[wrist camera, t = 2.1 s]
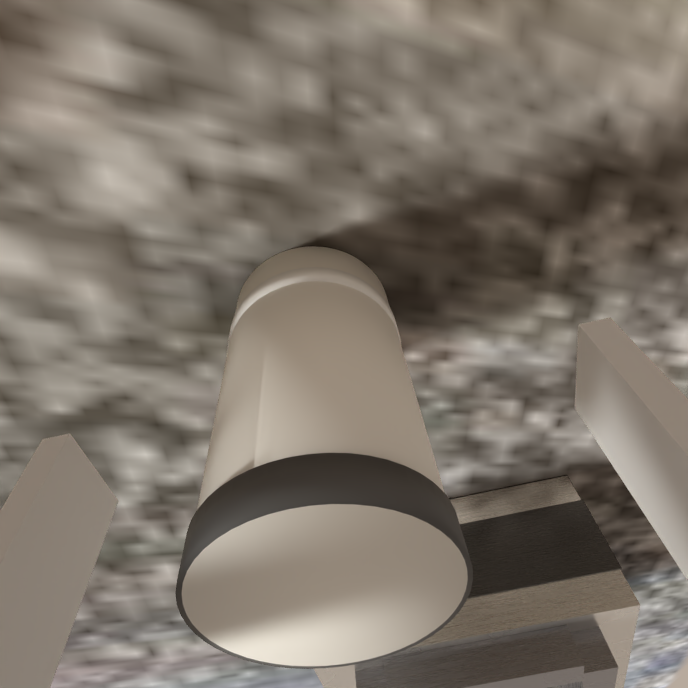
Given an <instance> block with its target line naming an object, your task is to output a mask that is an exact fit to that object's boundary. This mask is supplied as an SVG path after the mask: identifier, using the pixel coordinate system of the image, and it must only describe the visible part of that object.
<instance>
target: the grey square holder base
mask: <svg viewBox="0 0 688 688" xmlns="http://www.w3.org/2000/svg"><path fill="white" fill-rule="evenodd" d="M450 501H451V503H452V505H453V507H454V509H455V511H456V514H457V517H458V521H459V524H460V527H461V530H462V534H463V537H464V540H465V543H466V547H467V550H468V553H469V556H470V560H471V564H472V568H473V582H472V587H471V591H470V594H469V596H468V598H467V601H466V602H465V604H464V605H463V607H462V608H461V610H460V611H459V612H458V614H457V615H456V616H455V617H454V618H453V619H452V620H451V621H450V622H449V623H448V624H447V625H445V626H444V627H443V628H442V629H441V630H439V631H438V632H436V633H435V634H434V635H432V636H431V637H429V638H427V639H426V640H424V641H422V642H420V643H419V644H417V645H415V646H412V647H410V648H408V649H406V650H404V651H401V652H398V653H396V654H393V655H390V656H387V657H384V658H380V659H377V660H374V661H369V662H365V663H360V664H355V665H349V666H342V667H332V668H315V669H314V670H315V672H316V674H317V676H318V677H319V679H320V681H321V683H322V685H323V687H324V688H624V683H625V678H626V673H627V668H628V663H629V658H630V653H631V648H632V643H633V638H634V633H635V628H636V623H637V618H638V613H639V608H640V604H639V602H638V600H637V598H636V597H635V595H634V593H633V591H632V590H631V588H630V586H629V584H628V582H627V581H626V579H625V577H624V575H623V574H622V572H621V566H620V565H619V563H618V561H617V559H616V558H615V556H614V554H613V552H612V551H611V549H610V547H609V545H608V543H607V542H606V540H605V538H604V536H603V535H602V533H601V531H600V529H599V528H598V526H597V524H596V522H595V520H594V519H593V517H592V515H591V513H590V512H589V510H588V508H587V506H586V505H585V503H584V501H583V500H581V499H580V497H579V495H578V494H577V492H576V490H575V488H574V486H573V485H572V483H571V481H570V479H569V477H568V476H562V477H558V478H553V479H548V480H543V481H538V482H533V483H528V484H523V485H518V486H514V487H509V488H504V489H499V490H494V491H489V492H484V493H479V494H474V495H469V496H465V497H460V498H455V499H450Z"/></svg>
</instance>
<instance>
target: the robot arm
mask: <svg viewBox="0 0 688 688" xmlns="http://www.w3.org/2000/svg"><path fill="white" fill-rule="evenodd" d="M575 409H576V411H577V412H578V414H579V415H580V417H581V418H582V420H583V421H584V423H585V424H586V426H587V428H588V429H589V431H590V432H591V434H592V435H593V437H594V438H595V440H596V441H597V443H598V444H599V446H600V447H601V449H602V450H603V452H604V453H605V455H606V457H607V458H608V460H609V461H610V463H611V464H612V466H613V467H614V469H615V470H616V472H617V473H618V475H619V476H620V478H621V479H622V481H623V483H624V484H625V486H626V487H627V489H628V490H629V492H630V493H631V495H632V496H633V498H634V499H635V501H636V502H637V504H638V505H639V507H640V508H641V510H642V512H643V513H644V515H645V516H646V518H647V519H648V521H649V522H650V524H651V525H652V527H653V528H654V530H655V531H656V533H657V534H658V536H659V537H660V539H661V541H662V542H663V544H664V545H665V547H666V548H667V550H668V551H669V553H670V554H671V556H672V557H673V559H674V560H675V562H676V563H677V565H678V566H679V568H680V570H681V571H682V573H683V574H684V576H685V577H686V579H687V580H688V399H687V398H686V397H685V396H684V395H683V394H682V393H681V391H680V390H679V389H678V388H677V387H676V386H675V385H674V384H673V383H672V382H671V381H670V380H669V379H668V378H667V377H666V376H665V375H664V374H663V373H662V371H661V370H660V369H659V368H658V367H657V366H656V365H655V364H654V363H653V362H652V361H651V360H650V359H649V358H648V357H647V356H646V355H645V354H644V352H643V351H642V350H641V349H640V348H639V347H638V346H637V345H636V344H635V343H634V342H633V341H632V340H631V339H630V338H629V337H628V336H627V335H626V334H625V332H624V331H623V330H622V329H621V328H620V327H619V326H618V325H617V324H616V323H615V322H614V321H613V320H612V319H611V318H606V319H602V320H597V321H592V322H588V323H583V324H578V346H577V368H576V390H575ZM117 504H118V499H117V498H116V497H115V495H114V494H113V493H112V491H111V490H110V488H109V487H108V486H107V484H106V483H105V481H104V480H103V479H102V477H101V476H100V474H99V473H98V472H97V470H96V469H95V468H94V466H93V465H92V463H91V462H90V461H89V459H88V458H87V456H86V455H85V454H84V452H83V451H82V449H81V448H80V447H79V445H78V444H77V443H76V441H75V440H74V438H73V437H72V436H71V434H65V435H61V436H56V437H51V438H47V439H42V441H41V443H40V444H39V446H38V448H37V449H36V451H35V453H34V455H33V456H32V458H31V460H30V461H29V463H28V465H27V466H26V468H25V470H24V471H23V473H22V475H21V477H20V478H19V480H18V482H17V483H16V485H15V487H14V488H13V490H12V492H11V494H10V495H9V497H8V499H7V500H6V502H5V504H4V505H3V507H2V509H1V511H0V688H50V686H51V683H52V681H53V678H54V675H55V673H56V670H57V667H58V664H59V662H60V659H61V656H62V653H63V651H64V648H65V645H66V643H67V640H68V637H69V634H70V632H71V629H72V626H73V623H74V621H75V618H76V615H77V613H78V610H79V607H80V604H81V602H82V599H83V596H84V593H85V591H86V588H87V585H88V583H89V580H90V577H91V574H92V572H93V569H94V566H95V564H96V561H97V558H98V555H99V553H100V550H101V547H102V544H103V542H104V539H105V536H106V534H107V531H108V528H109V525H110V523H111V520H112V517H113V514H114V512H115V509H116V506H117Z"/></svg>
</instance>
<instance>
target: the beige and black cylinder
mask: <svg viewBox="0 0 688 688" xmlns="http://www.w3.org/2000/svg"><path fill="white" fill-rule="evenodd" d="M472 582H473V568H472V564H471V560H470V556H469V553H468V550H467V547H466V543H465V540H464V537H463V534H462V530H461V527H460V524H459V521H458V517H457V514H456V511H455V509H454V507H453V505H452V503H451V501H450V500H449V498H448V497H447V496H446V494H445V492H444V489H443V485H442V482H441V478H440V475H439V472H438V468H437V465H436V462H435V458H434V455H433V451H432V448H431V445H430V441H429V438H428V435H427V431H426V428H425V424H424V421H423V418H422V414H421V411H420V407H419V404H418V401H417V397H416V394H415V391H414V387H413V384H412V380H411V377H410V374H409V370H408V367H407V364H406V360H405V357H404V353H403V350H402V346H401V338H400V334H399V331H398V327H397V324H396V321H395V317H394V315H393V312H392V310H391V308H390V306H389V303H388V299H387V296H386V293H385V290H384V288H383V286H382V284H381V282H380V280H379V279H378V277H377V276H376V275H375V273H374V272H373V271H372V270H371V269H370V268H369V267H368V266H367V265H366V264H364V263H363V262H362V261H360V260H359V259H357V258H356V257H354V256H352V255H350V254H348V253H346V252H343V251H340V250H337V249H332V248H327V247H317V246H311V247H300V248H294V249H290V250H287V251H284V252H281V253H279V254H277V255H275V256H273V257H271V258H269V259H268V260H266V261H264V262H263V263H262V264H261V265H260V266H258V267H257V268H256V269H255V270H254V271H253V272H252V273H251V274H250V276H249V277H248V279H247V280H246V282H245V283H244V285H243V287H242V289H241V291H240V294H239V298H238V301H237V307H236V312H235V315H234V318H233V321H232V324H231V329H230V334H229V339H228V345H227V358H226V363H225V368H224V373H223V379H222V384H221V389H220V394H219V399H218V404H217V410H216V415H215V420H214V425H213V430H212V435H211V440H210V446H209V451H208V456H207V461H206V466H205V471H204V476H203V482H202V487H201V492H200V497H199V502H198V507H197V511H196V513H195V515H194V516H193V518H192V520H191V522H190V525H189V528H188V531H187V535H186V540H185V545H184V550H183V555H182V560H181V565H180V569H179V574H178V579H177V586H176V601H177V606H178V609H179V611H180V614H181V616H182V618H183V619H184V621H185V622H186V624H187V625H188V626H189V627H190V629H191V630H192V631H193V632H194V633H195V634H196V635H198V636H199V637H200V638H201V639H203V640H204V641H205V642H207V643H208V644H210V645H212V646H213V647H215V648H216V649H218V650H221V651H223V652H225V653H227V654H229V655H232V656H235V657H238V658H240V659H243V660H247V661H251V662H255V663H259V664H264V665H270V666H276V667H285V668H302V669H315V668H332V667H342V666H349V665H355V664H360V663H365V662H369V661H374V660H377V659H380V658H384V657H387V656H390V655H393V654H396V653H398V652H401V651H404V650H406V649H408V648H410V647H412V646H415V645H417V644H419V643H420V642H422V641H424V640H426V639H427V638H429V637H431V636H432V635H434V634H435V633H436V632H438V631H439V630H441V629H442V628H443V627H444V626H445V625H447V624H448V623H449V622H450V621H451V620H452V619H453V618H454V617H455V616H456V615H457V614H458V612H459V611H460V610H461V608H462V607H463V605H464V604H465V602H466V601H467V598H468V596H469V594H470V591H471V587H472Z"/></svg>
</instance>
